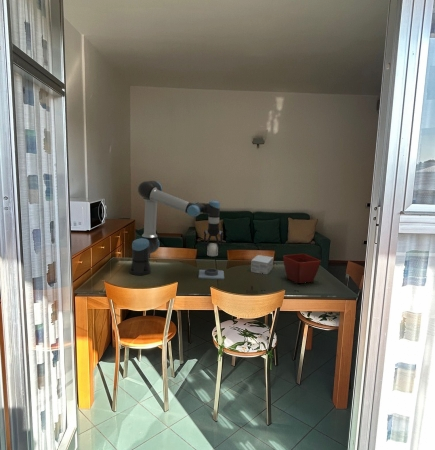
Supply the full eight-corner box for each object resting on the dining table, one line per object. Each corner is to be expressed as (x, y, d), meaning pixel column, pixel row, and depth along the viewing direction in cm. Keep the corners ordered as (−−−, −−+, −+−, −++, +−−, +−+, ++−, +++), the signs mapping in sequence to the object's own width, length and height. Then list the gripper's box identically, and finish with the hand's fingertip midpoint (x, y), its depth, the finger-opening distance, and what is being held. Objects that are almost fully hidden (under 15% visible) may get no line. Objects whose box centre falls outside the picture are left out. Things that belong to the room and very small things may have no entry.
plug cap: (208, 253, 243) (208, 243, 242) (216, 254, 243) (217, 243, 242) (208, 256, 237) (208, 245, 236) (216, 256, 237) (217, 245, 236)
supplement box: (256, 265, 270) (257, 254, 269) (272, 268, 265) (273, 257, 264) (250, 271, 255) (251, 259, 253) (267, 274, 250) (268, 262, 248)
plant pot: (280, 277, 245) (282, 255, 242) (301, 275, 253) (303, 253, 250) (296, 286, 228) (299, 262, 225) (319, 283, 236) (321, 260, 232)
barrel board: (198, 278, 235) (198, 273, 234) (199, 270, 251) (199, 266, 250) (224, 279, 235) (224, 274, 235) (223, 271, 251) (223, 267, 250)
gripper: (200, 223, 232) (198, 255, 236) (227, 224, 232) (225, 256, 237) (200, 221, 239) (199, 252, 244) (227, 222, 240) (225, 253, 244)
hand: (212, 254), depth 240 cm, fingers closed on plug cap, 6 cm apart
